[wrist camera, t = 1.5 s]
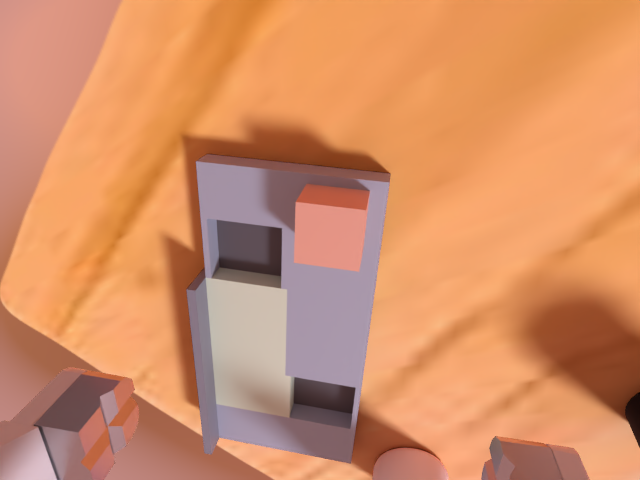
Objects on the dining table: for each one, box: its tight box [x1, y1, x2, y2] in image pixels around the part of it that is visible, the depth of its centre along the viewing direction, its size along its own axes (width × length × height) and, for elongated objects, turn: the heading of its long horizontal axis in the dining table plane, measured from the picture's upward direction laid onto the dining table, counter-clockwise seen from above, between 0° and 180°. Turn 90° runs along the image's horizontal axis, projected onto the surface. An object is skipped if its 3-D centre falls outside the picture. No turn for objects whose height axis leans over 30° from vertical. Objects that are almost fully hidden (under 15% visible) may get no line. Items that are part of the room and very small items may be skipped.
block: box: [294, 184, 370, 272], centre depth 29 cm, size 4×4×4 cm
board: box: [186, 154, 390, 463], centre depth 37 cm, size 30×15×4 cm, turn 177°
